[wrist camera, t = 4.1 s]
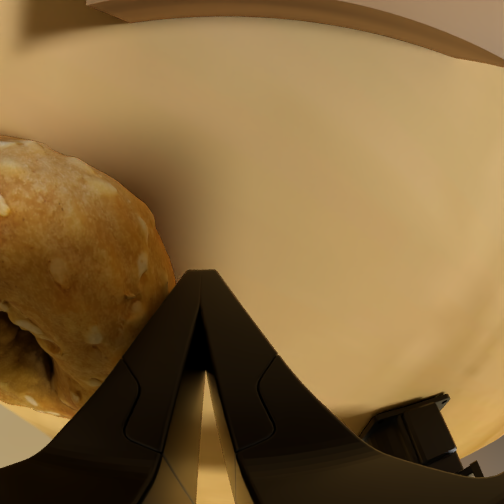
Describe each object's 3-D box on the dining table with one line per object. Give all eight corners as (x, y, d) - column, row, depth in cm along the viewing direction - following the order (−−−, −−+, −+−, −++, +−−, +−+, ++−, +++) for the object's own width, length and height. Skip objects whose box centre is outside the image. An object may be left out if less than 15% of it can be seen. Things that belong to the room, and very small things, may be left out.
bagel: (-25, 339, 11) (-59, 417, 7) (-62, 105, 5) (-166, 161, 1) (161, 390, 13) (158, 486, 10) (228, 151, 8) (248, 255, 4)
